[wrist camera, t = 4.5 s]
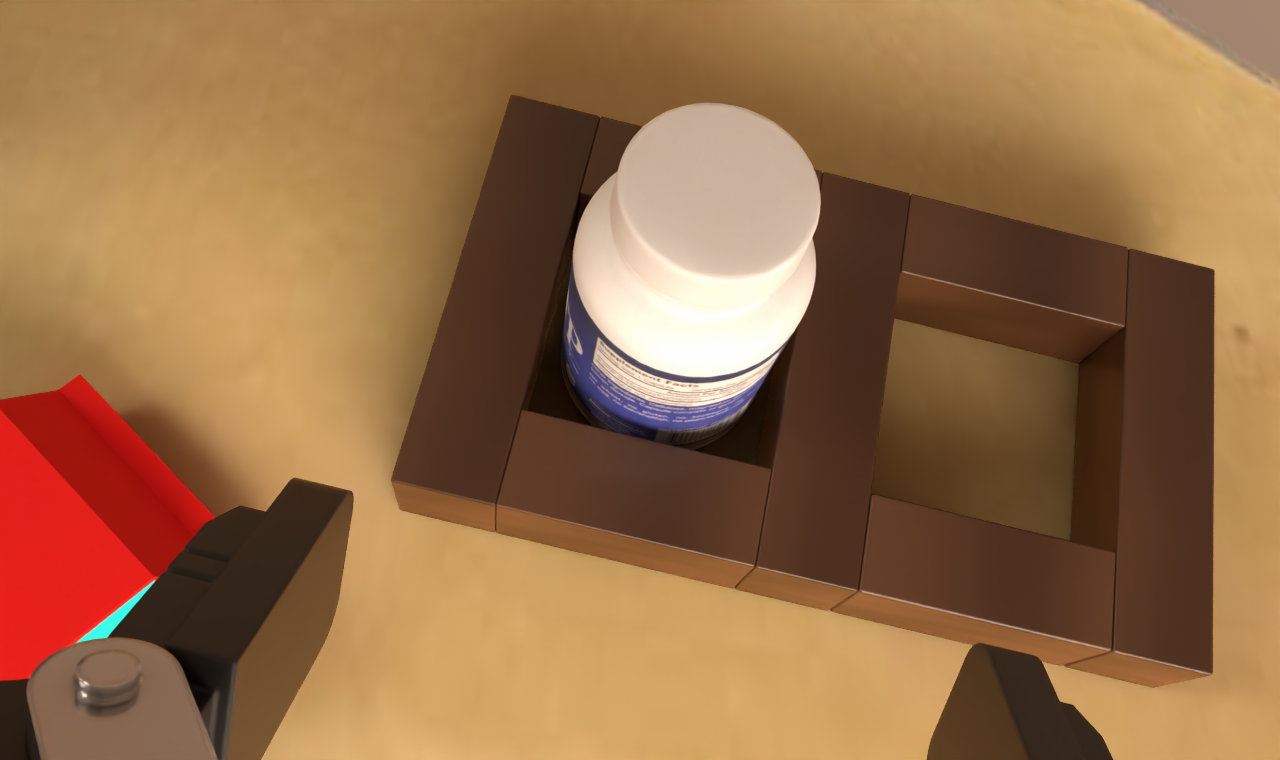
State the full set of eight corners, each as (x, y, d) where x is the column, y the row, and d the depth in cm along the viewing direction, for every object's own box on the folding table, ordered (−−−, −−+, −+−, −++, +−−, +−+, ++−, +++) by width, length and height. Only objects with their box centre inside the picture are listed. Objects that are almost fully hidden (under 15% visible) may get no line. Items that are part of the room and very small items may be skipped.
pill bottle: (591, 250, 30) (628, 38, 22) (775, 307, 30) (879, 115, 22) (532, 425, 28) (547, 262, 20) (729, 486, 28) (825, 347, 20)
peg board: (398, 510, 27) (390, 480, 25) (509, 147, 31) (510, 93, 29) (1154, 688, 28) (1214, 676, 25) (1163, 309, 32) (1216, 268, 30)
